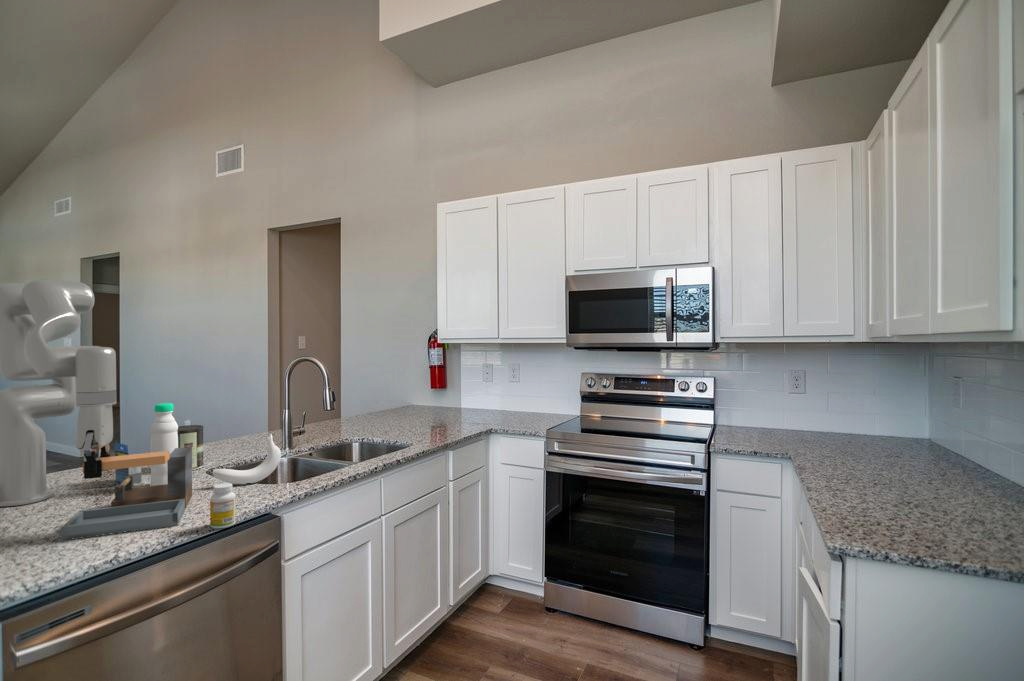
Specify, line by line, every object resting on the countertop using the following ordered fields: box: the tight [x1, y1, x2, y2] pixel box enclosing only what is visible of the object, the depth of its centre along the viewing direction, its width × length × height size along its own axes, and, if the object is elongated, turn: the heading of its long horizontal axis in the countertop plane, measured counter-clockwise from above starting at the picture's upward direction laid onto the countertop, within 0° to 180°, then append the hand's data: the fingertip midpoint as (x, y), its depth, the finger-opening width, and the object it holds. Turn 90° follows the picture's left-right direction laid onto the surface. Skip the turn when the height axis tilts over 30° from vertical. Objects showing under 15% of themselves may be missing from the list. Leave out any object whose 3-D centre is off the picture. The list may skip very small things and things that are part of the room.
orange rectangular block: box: [82, 451, 170, 474], centre depth 125 cm, size 16×6×2 cm, turn 115°
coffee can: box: [177, 424, 205, 471], centre depth 176 cm, size 10×10×14 cm
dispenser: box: [110, 447, 193, 510], centre depth 138 cm, size 16×12×14 cm
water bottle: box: [149, 402, 179, 486], centre depth 157 cm, size 7×7×25 cm
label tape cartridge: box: [114, 441, 142, 485], centre depth 160 cm, size 9×4×12 cm, turn 59°
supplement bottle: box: [209, 482, 237, 529], centre depth 125 cm, size 5×5×10 cm
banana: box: [212, 432, 282, 485], centre depth 159 cm, size 5×19×15 cm, turn 128°
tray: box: [60, 499, 186, 541], centre depth 125 cm, size 22×12×3 cm, turn 115°
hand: (97, 473), depth 122 cm, fingers closed on orange rectangular block, 5 cm apart
